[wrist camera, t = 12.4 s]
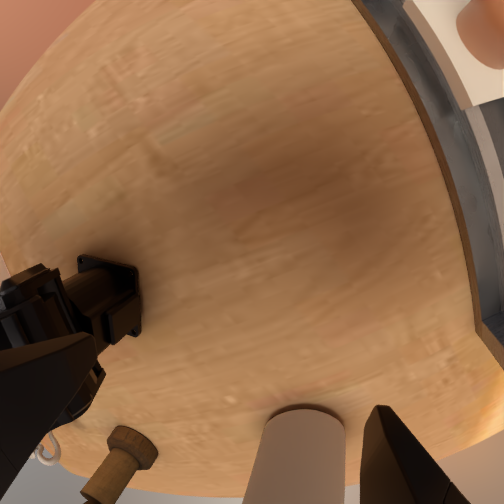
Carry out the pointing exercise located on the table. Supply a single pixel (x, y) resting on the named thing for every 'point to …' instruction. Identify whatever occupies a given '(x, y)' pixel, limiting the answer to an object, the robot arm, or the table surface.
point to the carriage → (464, 45)
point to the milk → (3, 270)
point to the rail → (457, 160)
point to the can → (299, 461)
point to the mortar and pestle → (119, 466)
